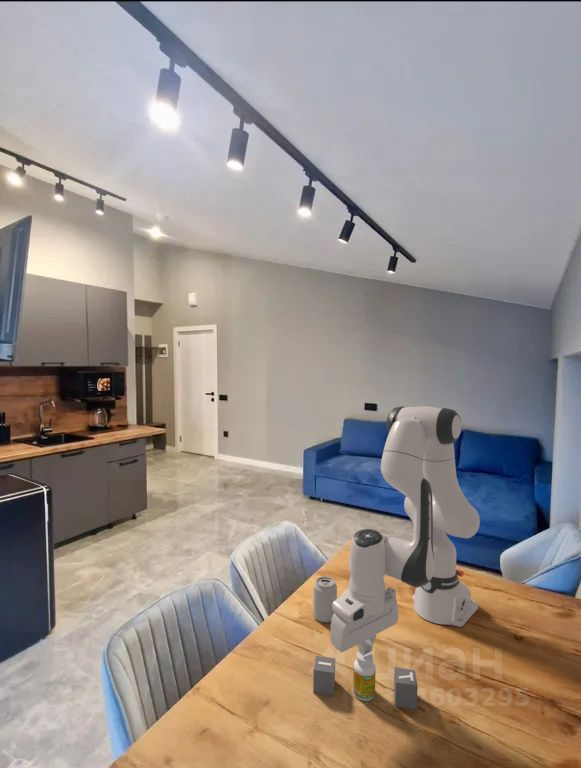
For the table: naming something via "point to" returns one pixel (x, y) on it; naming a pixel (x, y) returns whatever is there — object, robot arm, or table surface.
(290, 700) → the table surface
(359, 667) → the supplement bottle
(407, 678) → the letter t block
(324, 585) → the can
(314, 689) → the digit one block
